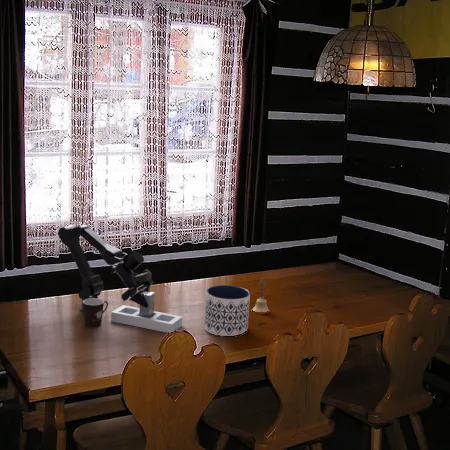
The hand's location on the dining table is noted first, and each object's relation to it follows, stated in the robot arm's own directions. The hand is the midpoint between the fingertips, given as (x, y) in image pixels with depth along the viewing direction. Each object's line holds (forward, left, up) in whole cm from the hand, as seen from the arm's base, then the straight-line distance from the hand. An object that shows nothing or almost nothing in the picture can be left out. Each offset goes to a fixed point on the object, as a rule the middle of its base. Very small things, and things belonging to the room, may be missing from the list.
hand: (149, 305), depth 288 cm
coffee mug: (-19, +11, -8) cm, 23 cm away
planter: (+23, -22, -8) cm, 33 cm away
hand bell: (+51, -14, -8) cm, 54 cm away
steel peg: (-1, +1, -7) cm, 7 cm away
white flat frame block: (-1, +1, -8) cm, 8 cm away
